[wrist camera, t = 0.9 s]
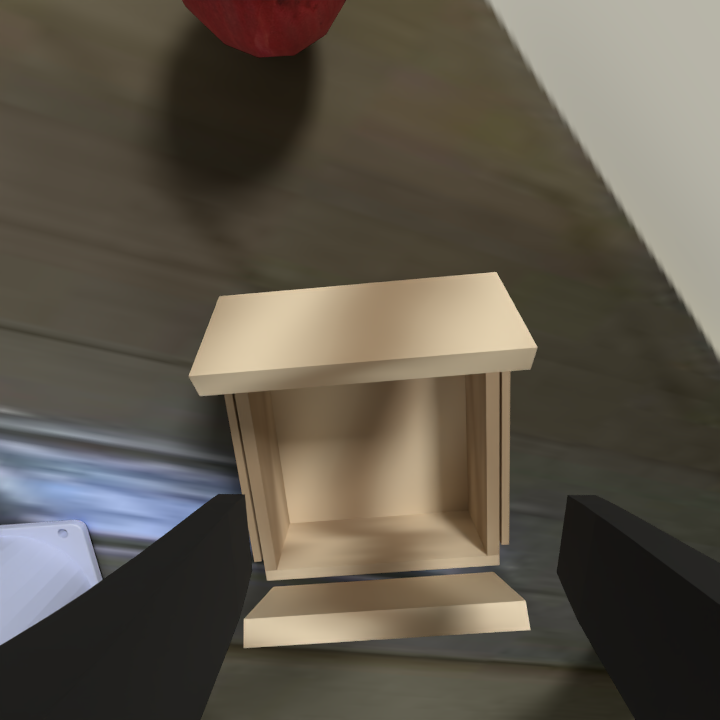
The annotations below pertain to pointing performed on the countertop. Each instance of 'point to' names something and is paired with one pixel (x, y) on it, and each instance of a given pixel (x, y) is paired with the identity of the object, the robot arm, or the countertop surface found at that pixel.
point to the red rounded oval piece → (267, 23)
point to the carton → (375, 474)
